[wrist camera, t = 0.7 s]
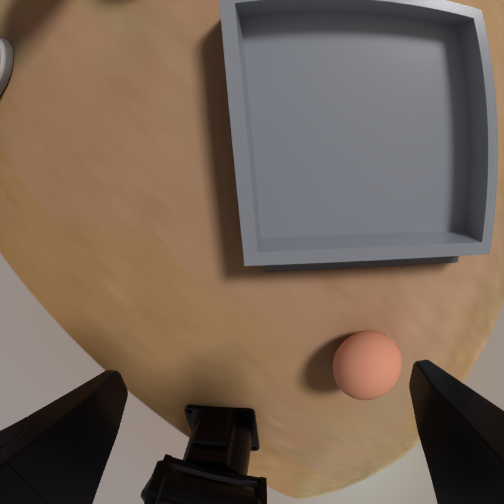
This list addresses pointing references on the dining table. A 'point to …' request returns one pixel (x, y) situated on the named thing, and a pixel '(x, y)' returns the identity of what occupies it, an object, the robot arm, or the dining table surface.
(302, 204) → the tray
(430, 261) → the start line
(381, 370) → the ball
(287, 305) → the dining table surface
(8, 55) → the travel mug
